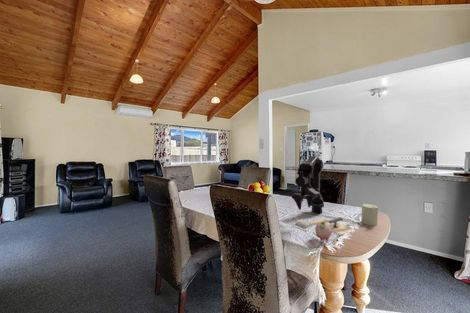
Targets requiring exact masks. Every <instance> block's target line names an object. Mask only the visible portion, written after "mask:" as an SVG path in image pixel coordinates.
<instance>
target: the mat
mask: <svg viewBox="0 0 470 313" xmlns="http://www.w3.org/2000/svg"><path fill="white" fill-rule="evenodd" d="M292 228H295V229H298V230H300V231H303V232H307V231H306V230H304V229H302V228H299V227H296V226H294V225H292Z"/></svg>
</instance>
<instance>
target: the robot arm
mask: <svg viewBox="0 0 470 313" xmlns="http://www.w3.org/2000/svg"><path fill="white" fill-rule="evenodd" d="M323 168H324V162H323V160H321V159H320V157H319V156H314V155H313V156H310V157H309V159H308V160H306V161H305V162H304V161H303V162H301V163H300V164H299V166H298V169H297V173H296V174H297V175H298V176H297V177H296V178H295V181H294V182H295V184H296V185H297V186H298V187H299V188H300V190H299V191H298V192H294V193H292V194H291V199H293V200H294V202H295V204H296V206H297V208H298V210H299V211H301V210H302V202H304V197H305V198H306V203H307V206H308V208H310V207H311V212H312V213H313V214H317V215H322V214H323V208H324V207H325V203H324V199H323V195H322V194H321V172H323ZM311 175H312V178H313V179H312V180H313V181H312V182H313V183H312V185H311Z"/></svg>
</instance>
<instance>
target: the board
mask: <svg viewBox="0 0 470 313" xmlns="http://www.w3.org/2000/svg"><path fill="white" fill-rule="evenodd" d="M310 222H311V223H313V225H315V226H316V225H317V224H319V223H321V222H324V223H325V224H327V225H329V226H330V228H331V231H332V232H334V233H337V234H340V235H344V234H347V233H349V232H350V231H351V232H352V231H353V230H355V228H353V227H350V226H347V225H345V224H341V223H338V222H337V226H336V227H334V223H329V219H325V218H323V217H321V218H317V219H314V220H312V221H310Z"/></svg>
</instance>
